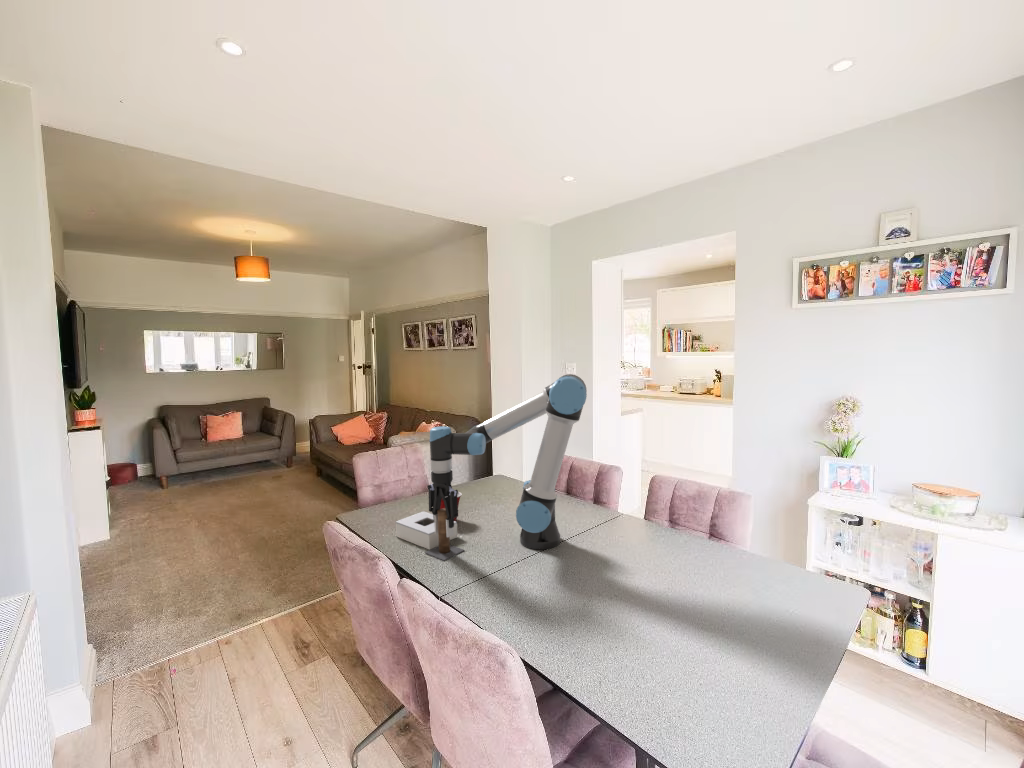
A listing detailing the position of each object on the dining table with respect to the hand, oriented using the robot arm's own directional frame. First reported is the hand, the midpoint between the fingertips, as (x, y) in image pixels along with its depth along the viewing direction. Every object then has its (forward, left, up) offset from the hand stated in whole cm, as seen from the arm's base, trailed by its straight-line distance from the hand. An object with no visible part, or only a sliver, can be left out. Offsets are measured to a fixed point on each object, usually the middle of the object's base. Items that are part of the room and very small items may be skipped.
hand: (444, 533), depth 168 cm
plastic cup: (+21, -22, -7) cm, 31 cm away
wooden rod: (0, 0, -6) cm, 6 cm away
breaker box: (+16, -5, -7) cm, 18 cm away
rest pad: (0, 0, -7) cm, 7 cm away
